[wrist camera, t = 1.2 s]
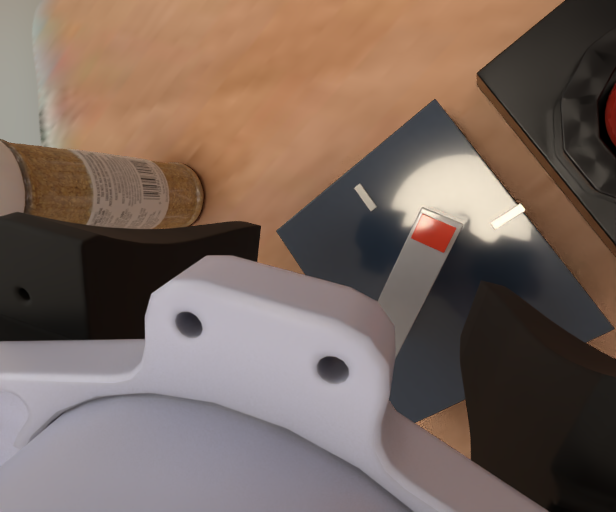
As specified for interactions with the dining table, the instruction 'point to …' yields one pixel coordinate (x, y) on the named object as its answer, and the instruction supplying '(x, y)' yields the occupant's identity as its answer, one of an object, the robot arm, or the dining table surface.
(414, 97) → the dining table surface
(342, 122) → the dining table surface
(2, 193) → the spice jar
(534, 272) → the base
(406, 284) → the tap lever
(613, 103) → the red button
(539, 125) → the button box
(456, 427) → the dining table surface
